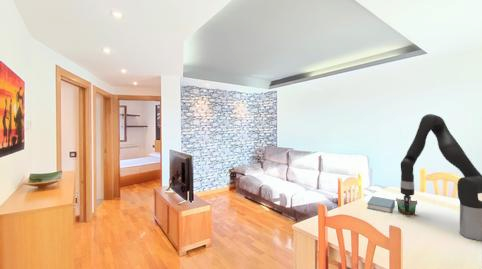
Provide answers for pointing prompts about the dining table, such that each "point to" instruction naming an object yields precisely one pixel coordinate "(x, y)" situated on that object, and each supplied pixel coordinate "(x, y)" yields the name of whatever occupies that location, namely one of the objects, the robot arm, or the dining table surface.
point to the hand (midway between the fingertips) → (407, 210)
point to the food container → (402, 208)
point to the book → (381, 204)
